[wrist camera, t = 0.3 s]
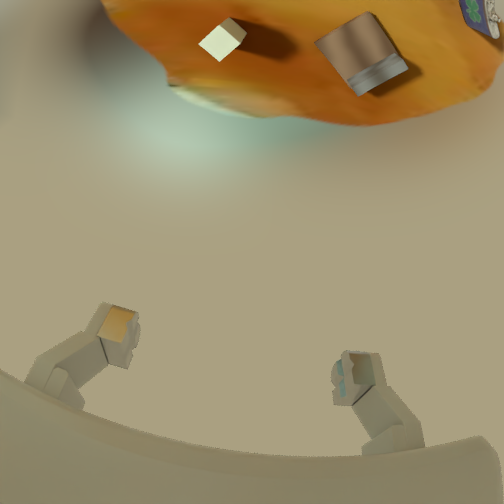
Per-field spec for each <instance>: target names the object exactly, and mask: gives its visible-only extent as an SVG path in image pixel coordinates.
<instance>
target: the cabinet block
mask: <svg viewBox="0 0 504 504" xmlns="http://www.w3.org/2000/svg"><path fill="white" fill-rule="evenodd" d="M246 34H247V32H246V31H245V30H243V29H242V28H241V27H240V26H239V25H238V24H237V23H236V22H234V21H233V20H232V19H231V18H230V17H229V18H228V19H227V20H225V21H224V22H223V23H221V24H220V25H219V26H218V27H216V28H215V29H214V30H213V31H212V32H211V33H210V34H209V35H208V36H207V37H205V38H204V39H203V40H202V41H201V42H200V43H199V45H200V46H202V47H203V48H204V49H205V50H206V51H208V52H209V53H210V54H211V55H212V56H213V57H215V58H216V59H217V60H218V61H219V62H220V61H221V60H222V59H223V58H224V57H225V56H227V55H228V54H229V53H230V52H231V51H232V50H234V49H235V48H236V47H237V46H238V45H240V44H241V42H242V40H243V39H244V37H245V35H246Z"/></svg>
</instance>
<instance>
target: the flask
mask: <svg viewBox="0 0 504 504" xmlns="http://www.w3.org/2000/svg"><path fill="white" fill-rule="evenodd" d="M459 4H460V7H461V11H462V14H463V17H464V20H465V22H466V24H467V25H468V26H469V27H470V28H473V29H475V30H478V31H480V32H482V33H484V34H486V35H488V36H490V37H492V38H494V39H497V38H498V37H500V33H499V29H498V25H497V21H498V22H500V20H501V18H500V19H498V16H497V15H496V14H495V8H494V0H459Z"/></svg>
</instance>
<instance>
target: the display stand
mask: <svg viewBox="0 0 504 504" xmlns="http://www.w3.org/2000/svg"><path fill="white" fill-rule="evenodd" d="M314 43H315V45H316V46H317V47H318V48H319V49H320V51H321V52H322V53H323V54H324V55H325V57H326V58H327V59H328V60H329V61H330V63H331V64H332V65H333V66H334V68H335V69H336V70H337V71H338V73H339V74H340V75H341V77H342V78H343V79H344V81H345V82H346V83H347V84H348V86H349V87H350V89H351V88H352V89H353V90H354V92H355V93H356V94H357V96H360V95H362V94H363V93H365V92H367V91H369V90H370V89H372V88H374V87H376V86H378V85H380V84H381V83H383V82H385V81H387V80H389V79H391V78H392V77H394V76H396V75H398V74H400V73H402V72H404V71H406V70H408V67H407V65H406V64H405V62H404V60H403V59H402V58H400V56H399V55H398V53H397V51H396V50H395V48H394V47H393V45H392V44H391V42H390V40H389V39H388V37H387V36H386V34H385V33H384V31H383V30H382V29H381V27H380V26H379V24H378V23H377V21H376V20H375V19H374V17H373V16H372V15H371V13H370V12H368V11H367V12H365V13H363V14H361V15H359V16H357V17H356V18H354V19H352V20H350V21H349V22H347V23H345V24H343V25H342V26H340V27H338V28H337V29H335V30H333V31H332V32H330V33H328V34H327V35H325V36H323V37H322V38H320V39H319V40H317V41H316V42H314Z"/></svg>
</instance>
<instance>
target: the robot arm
mask: <svg viewBox="0 0 504 504" xmlns="http://www.w3.org/2000/svg"><path fill="white" fill-rule="evenodd" d="M138 319H139V315H138V312H136V311H132V310H129V309H126V308H122V307H119V306H116V305H113V304H109V303H106V302H102V303H100V304H99V306H98V308H97V310H96V311H95V313H94V315H93V317H92V318H91V320H90V322H89V324H88V326H87V328H86V329H85V331H84V332H82V331H80V332H78V333H77V334H75V335H73V336H72V337H70V338H68V339H66V340H65V341H63V342H62V343H60V344H58V345H56V346H55V347H53V348H51V349H49V350H48V351H46V352H44V353H43V354H41V355H39V356H38V357H37V358H36V360H35V362H34V364H33V366H32V367H31V369H30V371H29V374H28V375H27V377H26V379H25V381H24V382H22V381H20V380H18V379H17V378H15V377H13V376H11V375H10V374H8V373H6V372H5V371H3V370H1V369H0V504H503V485H502V475H501V467H500V461H499V458H498V454H497V452H496V451H495V450H494V448H493V447H492V446H491V445H490V444H489V442H488V441H487V440H486V439H485V438H484V437H482V436H473V437H470V438H466V439H462V440H458V441H454V442H450V443H445V444H441V445H436V446H431V447H425V444H424V438H423V433H422V428H421V423H420V421H419V420H418V419H417V418H416V416H415V415H414V414H413V413H412V412H411V411H410V409H409V408H408V407H407V406H406V404H405V403H404V402H403V401H402V400H401V399H400V397H399V396H398V395H397V394H396V393H395V392H394V390H393V389H392V388H391V387H390V386H387V383H386V379H385V374H384V370H383V366H382V361H381V357H380V355H379V354H378V353H368V352H360V351H348V350H346V351H344V352H343V353H342V354H341V359H340V360H338V361H337V362H336V363H335V364H334V366H333V369H332V373H331V381H332V383H333V385H334V386H335V388H334V390H333V391H332V392H333V401H334V405H341V406H352V409H353V410H354V412H355V414H356V415H357V417H358V418H359V420H360V422H361V423H362V424H363V426H364V428H365V429H366V431H367V433H368V434H369V436H370V437H371V439H372V440H370V441H369V442H367V443H366V444H364V445H363V446H362V455H361V456H360V455H359V456H335V457H307V456H283V455H268V454H258V453H249V452H240V451H233V450H226V449H219V448H213V447H208V446H202V445H197V444H192V443H187V442H182V441H178V440H174V439H170V438H166V437H162V436H158V435H154V434H151V433H147V432H144V431H139V430H137V429H134V428H130V427H127V426H124V425H121V424H118V423H115V422H112V421H109V420H107V419H104V418H101V417H98V416H96V415H93V414H91V413H88V412H85V411H83V410H82V409H83V407H84V404H85V400H84V398H83V397H82V395H81V394H80V392H79V390H78V389H79V388H80V387H82V386H83V385H84V384H85V383H86V382H88V381H89V380H90V379H92V378H93V377H94V376H95V375H97V374H98V373H99V372H100V371H102V370H103V369H104V368H105V367H106V366H108V364H111V365H114V366H117V367H121V368H124V369H128V367H129V365H130V362H131V360H132V357H133V354H132V350H133V349H134V348H136V347H137V344H138V341H139V337H140V325H139V324H138V322H137V321H138Z"/></svg>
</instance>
